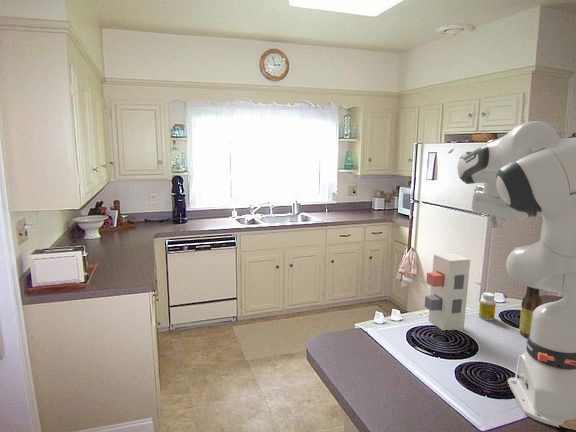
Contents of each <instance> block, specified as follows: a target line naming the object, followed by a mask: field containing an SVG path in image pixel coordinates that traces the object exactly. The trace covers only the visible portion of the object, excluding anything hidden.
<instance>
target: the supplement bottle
mask: <svg viewBox="0 0 576 432" xmlns="http://www.w3.org/2000/svg"><path fill="white" fill-rule="evenodd" d="M495 298H496V297H495V294H494V293H492V292H483V294H482V298H480V302H479V310H478V317H479V319H481V320H484V321H493V320H495V313H496V305H497V301H496V300H495Z"/></svg>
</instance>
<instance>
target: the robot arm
mask: <svg viewBox="0 0 576 432" xmlns="http://www.w3.org/2000/svg"><path fill="white" fill-rule="evenodd" d="M457 174H458V178H459V179H460V180H461V181H462V182H463V183H464V184H467V185H471V184H482V183H483V185H477V186H476V187H475V188H474V191H473V196H472V201H471V210H472V211H473V212H475V213H479V214H483V215H488V219H489V221H490V223H491V229H494V230H498V231H501V230H503V229H504V228H503V226H504V223H505V222H506V221H507V220H511V221H514V222H520V221H524V220H526V219H527V218H528V217H534V218H535V217H537V216H538V215H537V214H538V213H540V215H541V218H542V221H541V223H542V224H541V229H540V237H539V240H538V241H536V242H535V243H532V244H527V245H523V246H517V247H515V248H513V249H512V250H511V251H510V253H509V254H508V256H507V258H506V263H505V269H506V272H507V275H508V276H509V278H510V279H511V281H513V282H515V283H517V284H520V285H523V286H524V287H525V286H526V287H527V286H528V287H531V288H536V289H539V290H543V291H548V292H552V293H558V294H559V293H560V294H563V295H564V296H563V297H562V298H561V299H559V300H556V301H550V302H546V303H542V305H540V306H538V307H537V308H536V309H535V310H534V312H533V315H532V323H531V331H530V335H529V336H528V338H527V339H526V343H525V344H526V346H525V347H526V348H525V349H526V350H525V352H523V353H521V354H520V355H518V359H517V366H516V371H515V376H513V377H509V378H508V379H507V382H508V383H507V385H508V384H509V385H508V386H509V388H510V390H511V392H512V393H513V395H514V397H515V399H516V401H517V403H518V406H520V408H521V410H522V412H523V414H524V415H525V416H527V417H529V418H531V419H532V420H536V421H538V422H539V423H543V424H546V425H550V426H552V427H557V428H560V427H559V425H561V424H563V423H564V421H566V420H572V419H575V418H576V132H573V133H572V135H571V136H568V137H567V138H566V137H565V138H563V137H562V138H561V137H560V136H559V135H558V132H557V130H556V128H554V127H553V126H552V125H551V124H549V123H547V122H545V121H539V120H534V121H533V120H532V121H527V122H525V123H524V122H523V123H521V124H519V125H517V126H515V127H514V128H512V129H511V130H509V131H508V133H506V134H505V135H504V136H502V137H500V138H499V137H498V138H492V139H490V140H487V142H486V144H485V145H483V146H480V147H478V148H476V149H474V150H473V151H466V152H464V153H462V155H461V156H460V157H459V160H458V161H457ZM497 220H498V221H497ZM560 429H561V428H560Z"/></svg>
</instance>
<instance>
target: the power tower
mask: <svg viewBox="0 0 576 432" xmlns="http://www.w3.org/2000/svg"><path fill="white" fill-rule="evenodd" d="M432 261H433V262H432V272H440V273H442V274H445V276H444V286H437V287H433V286H431V285H430V286H431V287H430V296H433V295H437V296H439V297H441V298H442V299H443V300H442V310H434V311H431V310H429V309H428V310H429V311H428V312H429V313H428V321H429V323H431V324H433V325H434V326H436V327H438V328H439V330H441V331H443V330H444V331H443V332H446V331H445V330H448V331H454V330H463V329H464V330H465V319H466V310H467V309H466V308H467V300H468V299H467V298H468V288H469V287H468V286H469V277H470V267H471V259H470V258H468V257H464V256H461V255H459V254H456V253H453V252H452V253H451V252H450V253H449V252H448V253H435V254H433V260H432Z"/></svg>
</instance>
